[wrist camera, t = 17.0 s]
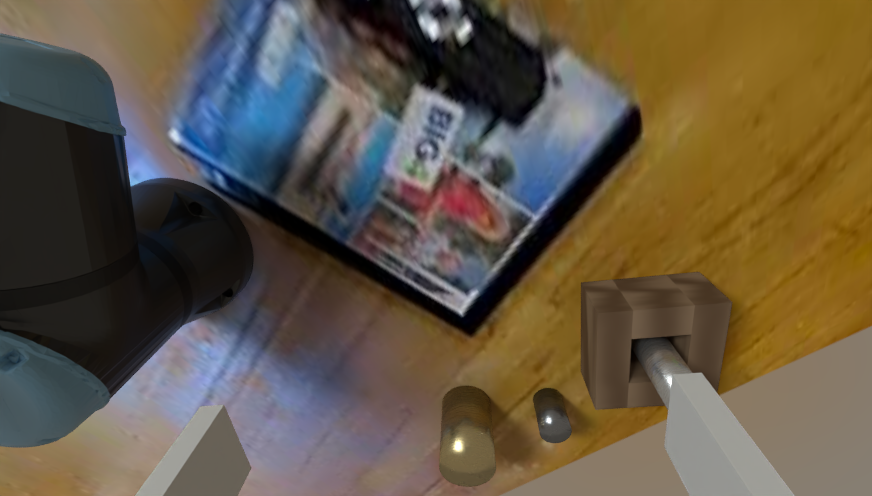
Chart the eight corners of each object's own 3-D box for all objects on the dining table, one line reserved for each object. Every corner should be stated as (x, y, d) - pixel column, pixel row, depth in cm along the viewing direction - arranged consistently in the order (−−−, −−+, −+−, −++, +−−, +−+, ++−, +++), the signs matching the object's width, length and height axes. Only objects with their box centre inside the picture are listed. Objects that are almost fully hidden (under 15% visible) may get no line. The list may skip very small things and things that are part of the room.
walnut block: (580, 371, 51) (595, 409, 46) (581, 282, 46) (597, 313, 41) (687, 364, 50) (715, 402, 44) (699, 272, 45) (732, 302, 39)
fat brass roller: (445, 423, 56) (443, 487, 47) (439, 387, 53) (435, 448, 45) (492, 420, 55) (497, 485, 47) (488, 384, 52) (493, 445, 44)
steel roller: (620, 338, 49) (666, 420, 38) (621, 312, 47) (669, 390, 36) (652, 336, 48) (708, 418, 38) (654, 309, 47) (713, 387, 36)
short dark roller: (533, 410, 54) (540, 443, 49) (532, 389, 52) (539, 421, 48) (562, 409, 54) (571, 442, 49) (561, 387, 52) (571, 419, 48)
